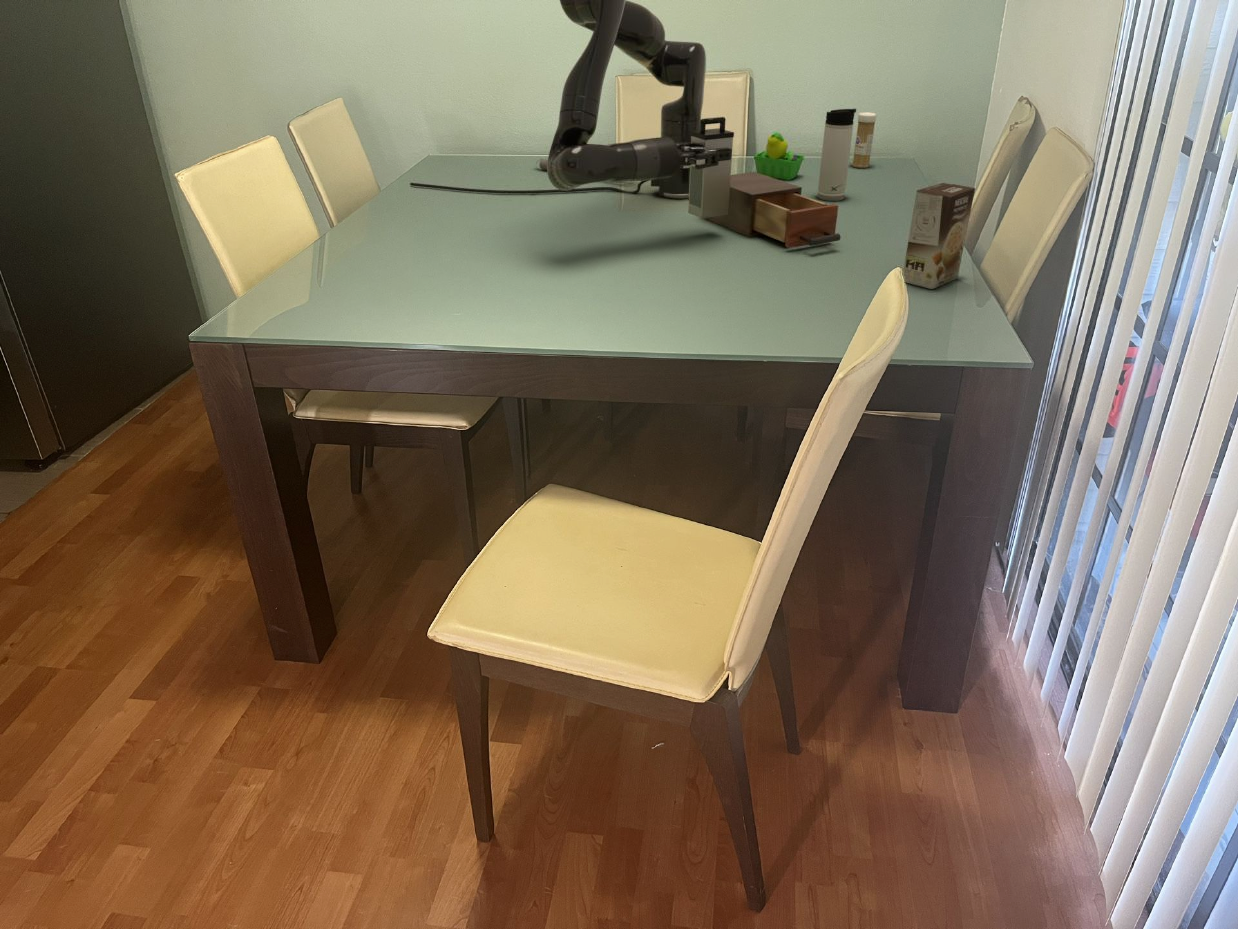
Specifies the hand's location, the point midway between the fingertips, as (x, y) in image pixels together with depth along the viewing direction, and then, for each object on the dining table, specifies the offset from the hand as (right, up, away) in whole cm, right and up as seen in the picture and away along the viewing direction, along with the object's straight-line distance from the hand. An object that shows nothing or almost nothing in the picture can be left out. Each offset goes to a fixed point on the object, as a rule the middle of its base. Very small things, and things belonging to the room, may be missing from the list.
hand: (722, 151), depth 178 cm
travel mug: (+30, 0, +34) cm, 45 cm away
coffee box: (+35, -29, -17) cm, 49 cm away
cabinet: (+8, -10, +15) cm, 20 cm away
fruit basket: (+20, +12, +53) cm, 58 cm away
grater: (-2, -11, +5) cm, 12 cm away
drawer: (+15, -16, +3) cm, 22 cm away
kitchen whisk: (-29, +11, +53) cm, 61 cm away
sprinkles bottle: (+44, +17, +63) cm, 79 cm away
